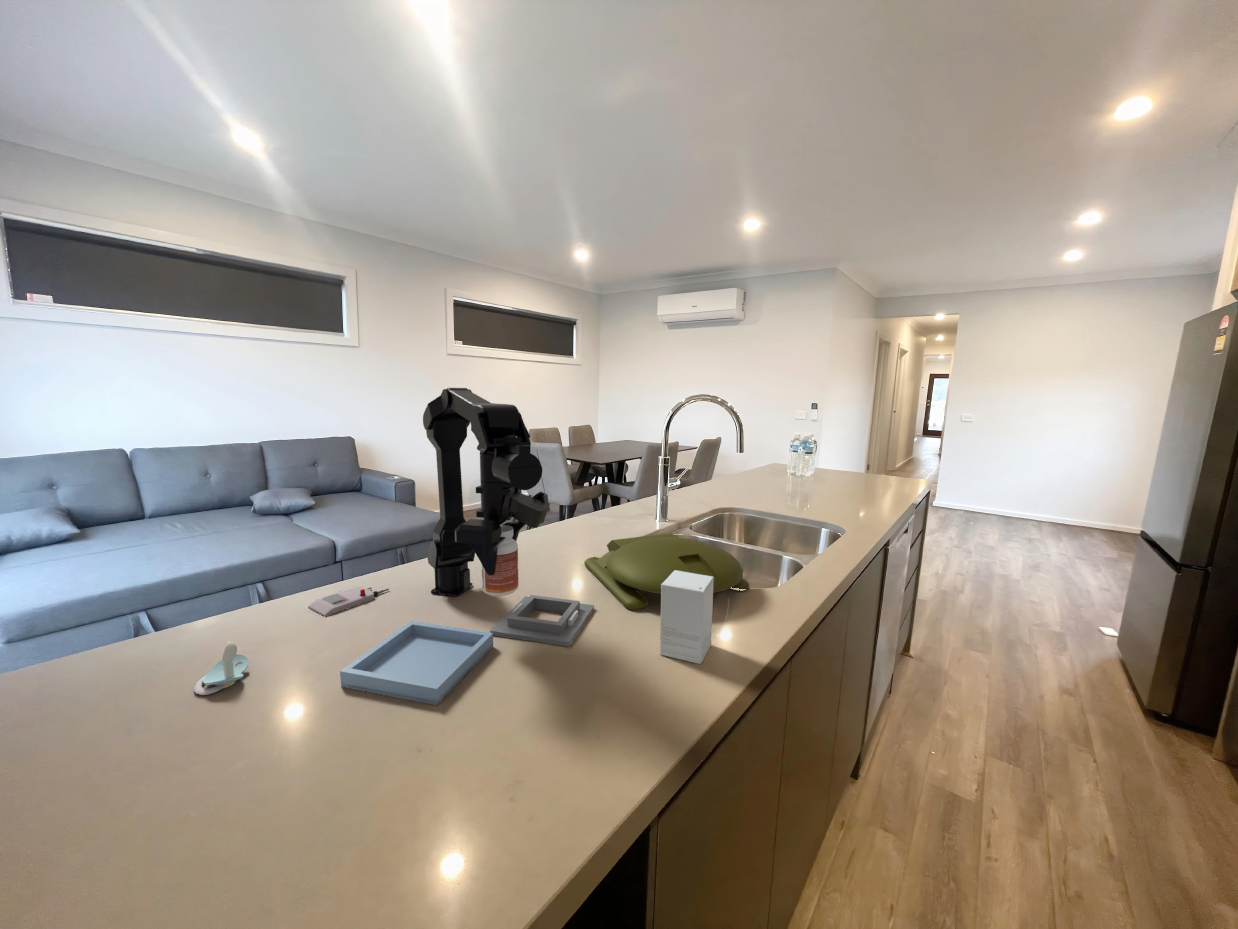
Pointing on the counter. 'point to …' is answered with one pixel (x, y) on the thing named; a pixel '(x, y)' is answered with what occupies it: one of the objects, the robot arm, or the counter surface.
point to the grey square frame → (544, 621)
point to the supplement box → (686, 616)
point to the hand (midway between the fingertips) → (499, 567)
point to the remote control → (343, 600)
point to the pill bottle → (503, 567)
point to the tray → (418, 662)
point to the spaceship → (661, 566)
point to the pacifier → (223, 671)
